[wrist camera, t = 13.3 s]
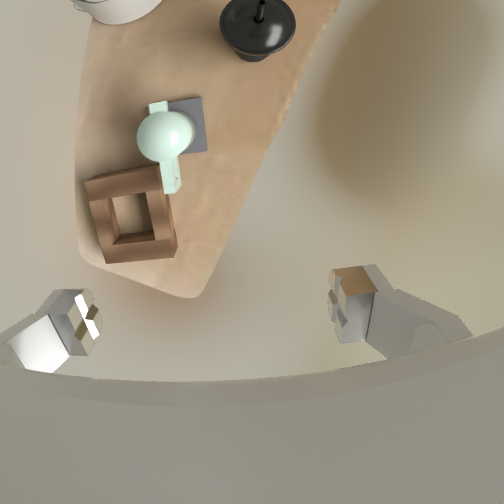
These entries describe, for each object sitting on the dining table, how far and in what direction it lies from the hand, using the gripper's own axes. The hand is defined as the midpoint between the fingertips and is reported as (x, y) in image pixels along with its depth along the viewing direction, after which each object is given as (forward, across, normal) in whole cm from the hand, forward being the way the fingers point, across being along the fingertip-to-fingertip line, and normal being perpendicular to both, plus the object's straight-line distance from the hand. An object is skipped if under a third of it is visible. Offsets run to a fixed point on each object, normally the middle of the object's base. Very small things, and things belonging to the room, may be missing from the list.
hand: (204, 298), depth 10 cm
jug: (+36, +8, -2) cm, 37 cm away
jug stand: (+37, +17, +8) cm, 41 cm away
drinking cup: (+37, -4, -15) cm, 40 cm away
